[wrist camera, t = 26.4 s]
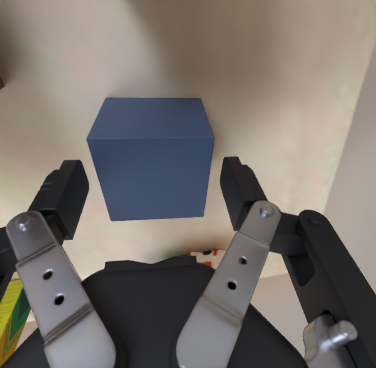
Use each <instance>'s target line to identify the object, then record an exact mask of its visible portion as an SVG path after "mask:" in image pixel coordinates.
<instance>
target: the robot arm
mask: <svg viewBox="0 0 376 368" xmlns="http://www.w3.org/2000/svg"><path fill="white" fill-rule="evenodd" d="M220 186H221V190H222V193H223V196H224V200H225V203H226V206H227V209H228V213H229V216H230V219H231V223H232V226H233V229H234V231H237V232H236V234H235V236H234V238H233V239H232V241H231V243H230V245H229V247H228V249H227V250H226V252H225V254H224V256H223V258H222V260H221V261H220V263H219V265H218V267H217V269H214V268H212V267H211V266H208V265H206V264H203V263H200V262H197V259H196V256H181V257H173V258H170V259H167V260H164V261H160V262H157V263H154V264H147V263H142V262H136V261H130V260H124V261H110V262H105V268H104V269H103V270H100V271H98V272H95V273H94V274H92V275H90V276H89V277H87V278H86V279H84V280H83V281H82V280H81V278H80V277H79V275H78V273H77V272H76V270H75V268H74V266H73V265H72V263H71V261H70V259H69V258H68V256H67V254H66V252H65V251H64V249H63V247H62V244H63V241H64V240H73V237H74V234H75V231H76V228H77V225H78V222H79V219H80V216H81V213H82V210H83V207H84V204H85V201H86V198H87V195H88V191H89V182H88V179H87V176H86V173H85V170H84V167H83V164H82V162H81V160H64V161H63V163H62V165H61V167H60V169H59V170H54V171H53V172H51V173H50V174H49V175H48V176H47V177H46V179H45V181H44V183H43V185H42V186H41V188H40V191H38V193H37V195H36V197H35V198H34V200H33V202H32V204H31V205H30V207H29V209H28V211H27V212H23V213H21V214H19V215H17V216H15V217H14V218H13V219H11V220H10V221H9V223H8V224H7V226H6V227H2V228H0V303H1V301H2V299H3V296H4V294H5V292H6V289H7V287H8V285H9V282H10V280H11V278H12V275H13V273H14V272H16V271H17V272H18V275H19V278H20V280H21V283H22V285H23V288H24V291H25V293H26V296H27V298H28V301H29V304H30V306H31V309H32V312H33V314H34V317H35V319H36V322H37V325H38V328H37V329H36V330H35V331H34V332H33V333H32V334H31V335H30V336H29V337H28V338H27V339H26V340H25V341H24V342H23V343H22V344H21V345H20V346H19V347H18V348H17V349H16V351H15V352H14V353H13V354H12V355H11V356H10V357H9V358H8V359H7V360H6V361H5V362H4V363H3V364H2V365H1V366H0V368H376V294H375V293H374V291H373V290H372V288H371V287H370V285H369V283H368V282H367V280H366V279H365V277H364V276H363V274H362V273H361V271H360V269H359V268H358V266H357V265H356V263H355V261H354V260H353V258H352V257H351V256H350V254H349V252H348V250H347V249H346V247H345V246H344V244H343V243H342V241H341V240H340V238H339V237H338V235H337V233H336V232H335V230H334V229H333V227H332V225H331V224H330V222H329V221H328V219H327V218H326V217H324V216H323V215H322V214H320V213H319V212H316V211H313V210H304V211H302V212H300V214H299V216H297V215H292V214H287V213H283V212H281V211H280V209H279V208H278V207H277V206H276V205H275V204H273V203H271V202H269V201H268V200H267V198H266V196H265V194H264V192H263V190H262V188H261V186H260V184H259V183H258V180H257V178H256V176H255V174H254V172H253V170H252V169H251V168H249V167H248V166H247V165H242V164H241V162H240V160H239V158H238V157H237V156H236V157H224V159H223V165H222V170H221V175H220ZM238 230H239V231H238ZM269 251H270V252H275V253H279V254H281V255H282V257H283V260H284V262H285V265H286V267H287V270H288V273H289V275H290V278H291V280H292V283H293V286H294V288H295V291H296V293H297V296H298V298H299V301H300V304H301V306H302V309H303V311H304V314H305V317H306V319H307V322H308V325H307V326H306V327H305V329H304V331H303V341H304V345H305V356H304V358H303V357H302V355H301V354H300V353H299V352H298V351H297V349H296V348H295V347H294V346H293V345H292V344H291V343H290V342H289V341H288V340H287V339H286V338H285V337H284V336H283V335H282V334H281V333H280V332H279V331H278V330H277V329H276V328H275V327H274V326H273V325H272V324H271V323H270V322H269V321H268V320H267V319H266V318H265V317H263V315H262V314H261V313H260V312H259V311H257V309H256V308H255V307H254V306H253V305H252V304H251V303H250V301H251V298H252V295H253V293H254V290H255V287H256V285H257V282H258V279H259V277H260V274H261V271H262V269H263V266H264V263H265V261H266V258H267V255H268V253H269Z"/></svg>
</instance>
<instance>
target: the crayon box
mask: <svg viewBox="0 0 376 368" xmlns="http://www.w3.org/2000/svg"><path fill="white" fill-rule="evenodd" d="M30 310H31V306H30V304H29V301H28V298H27V296H26V293H25V291H24V288H23V285H22V283H21V280H20V279H19V280H13V281H10V282H9V285H8V287H7V289H6V292H5V294H4V296H3V299H2V301H1V303H0V366H1V365H2V364H3V363H4V362H5V361H6V360H7V359H8V358H9V357H10V356H11V355H12V354H13V353H14V352H15V349H16V346H17V343H18V341H19V338H20V335H21V333H22V331H23V328H24V325H25V323H26V320H27V317H28V315H29V312H30Z"/></svg>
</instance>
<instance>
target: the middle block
mask: <svg viewBox="0 0 376 368" xmlns="http://www.w3.org/2000/svg"><path fill="white" fill-rule="evenodd" d="M214 138H215V137H214V134H213V132H212V129H211V126H210V124H209V121H208V118H207V115H206V113H205V110H204V107H203V105H202V102H201V99H200V98H105V100H104V103H103V105H102V107H101V109H100V111H99V113H98V115H97V117H96V120H95V122H94V124H93V126H92V128H91V130H90V132H89V134H88V137H87V143H88V146H89V149H90V152H91V156H92V159H93V162H94V166H95V169H96V172H97V176H98V179H99V182H100V186H101V189H102V192H103V196H104V199H105V202H106V206H107V209H108V212H109V216H110V219H111V221H127V220H147V219H167V218H187V217H203V216H204V210H205V203H206V196H207V188H208V181H209V174H210V167H211V160H212V153H213V145H214Z"/></svg>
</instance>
